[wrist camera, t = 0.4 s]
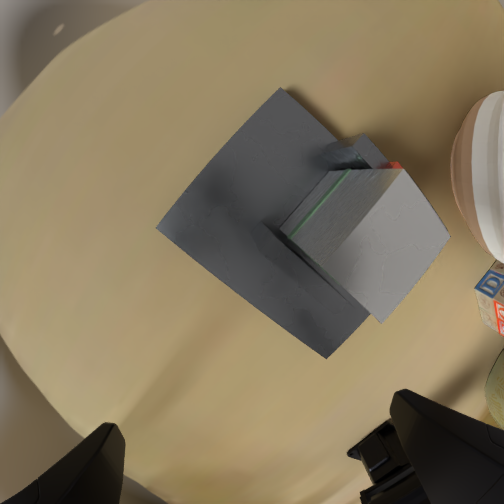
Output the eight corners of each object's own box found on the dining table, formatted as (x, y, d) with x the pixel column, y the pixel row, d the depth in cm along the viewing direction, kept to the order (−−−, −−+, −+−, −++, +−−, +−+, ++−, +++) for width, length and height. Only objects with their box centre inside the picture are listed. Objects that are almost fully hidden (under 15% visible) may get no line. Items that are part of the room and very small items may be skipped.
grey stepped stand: (418, 242, 21) (476, 266, 14) (322, 351, 22) (352, 406, 16) (277, 92, 17) (303, 51, 11) (159, 225, 19) (127, 249, 12)
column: (370, 211, 19) (452, 235, 11) (321, 268, 19) (381, 325, 11) (330, 169, 18) (404, 165, 10) (277, 228, 18) (319, 267, 10)
